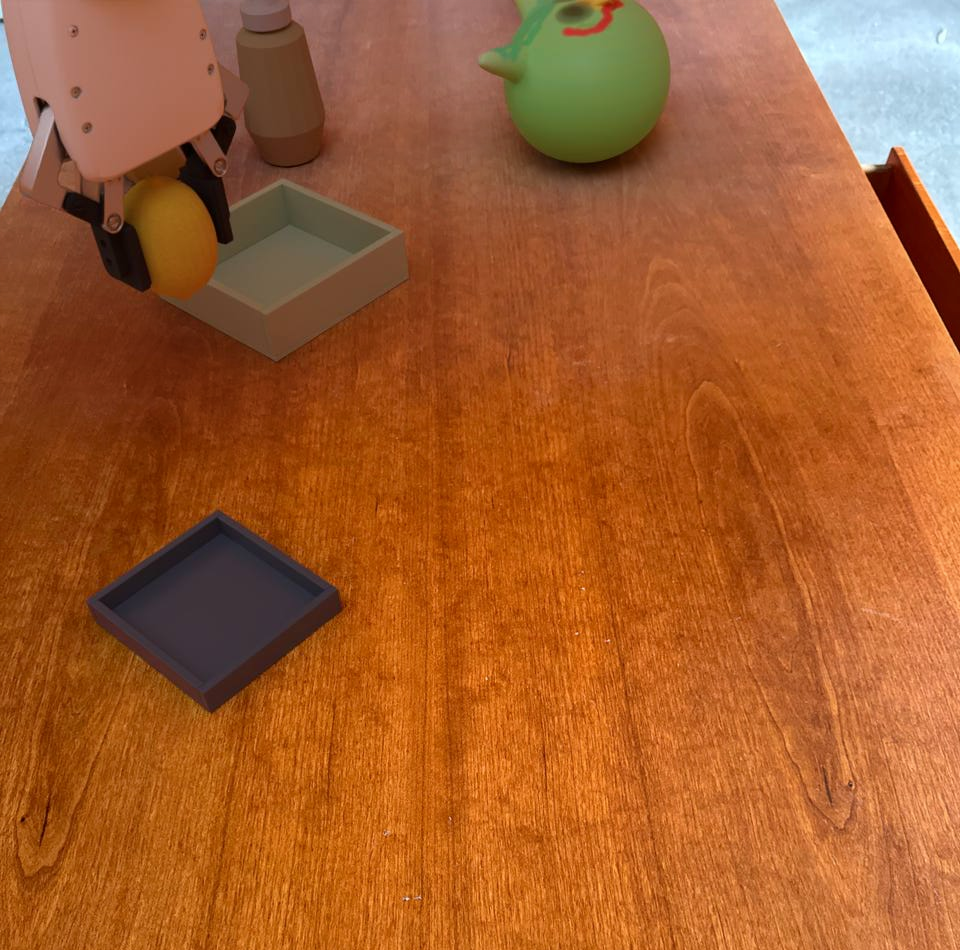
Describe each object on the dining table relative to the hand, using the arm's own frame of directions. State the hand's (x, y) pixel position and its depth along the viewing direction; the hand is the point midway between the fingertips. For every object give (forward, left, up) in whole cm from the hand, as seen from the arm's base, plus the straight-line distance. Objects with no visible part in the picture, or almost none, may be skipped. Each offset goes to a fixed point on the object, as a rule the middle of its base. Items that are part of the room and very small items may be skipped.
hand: (173, 256), depth 71 cm
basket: (-18, +21, -19) cm, 34 cm away
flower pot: (-44, +27, -20) cm, 55 cm away
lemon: (0, 0, -3) cm, 3 cm away
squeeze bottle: (-36, +38, -20) cm, 56 cm away
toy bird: (-13, +56, -20) cm, 60 cm away
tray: (+8, -8, -19) cm, 23 cm away
